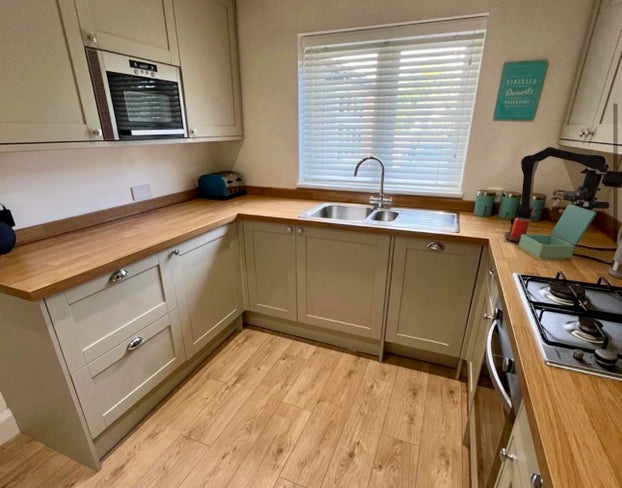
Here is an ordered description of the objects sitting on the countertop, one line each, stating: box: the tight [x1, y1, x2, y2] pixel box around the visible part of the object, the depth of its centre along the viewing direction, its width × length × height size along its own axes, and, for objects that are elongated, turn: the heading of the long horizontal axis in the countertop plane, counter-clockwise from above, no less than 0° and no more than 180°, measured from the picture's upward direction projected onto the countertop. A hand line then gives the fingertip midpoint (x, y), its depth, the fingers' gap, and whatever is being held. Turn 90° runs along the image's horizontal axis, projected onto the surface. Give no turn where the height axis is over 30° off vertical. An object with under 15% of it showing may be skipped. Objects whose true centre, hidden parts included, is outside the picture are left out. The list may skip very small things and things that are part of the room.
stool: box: [503, 232, 521, 245], centre depth 158 cm, size 9×9×4 cm
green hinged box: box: [518, 233, 576, 259], centre depth 144 cm, size 14×15×6 cm
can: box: [511, 217, 531, 238], centre depth 155 cm, size 6×6×8 cm
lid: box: [550, 203, 598, 246], centre depth 140 cm, size 14×15×1 cm
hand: (579, 219), depth 149 cm, fingers closed
